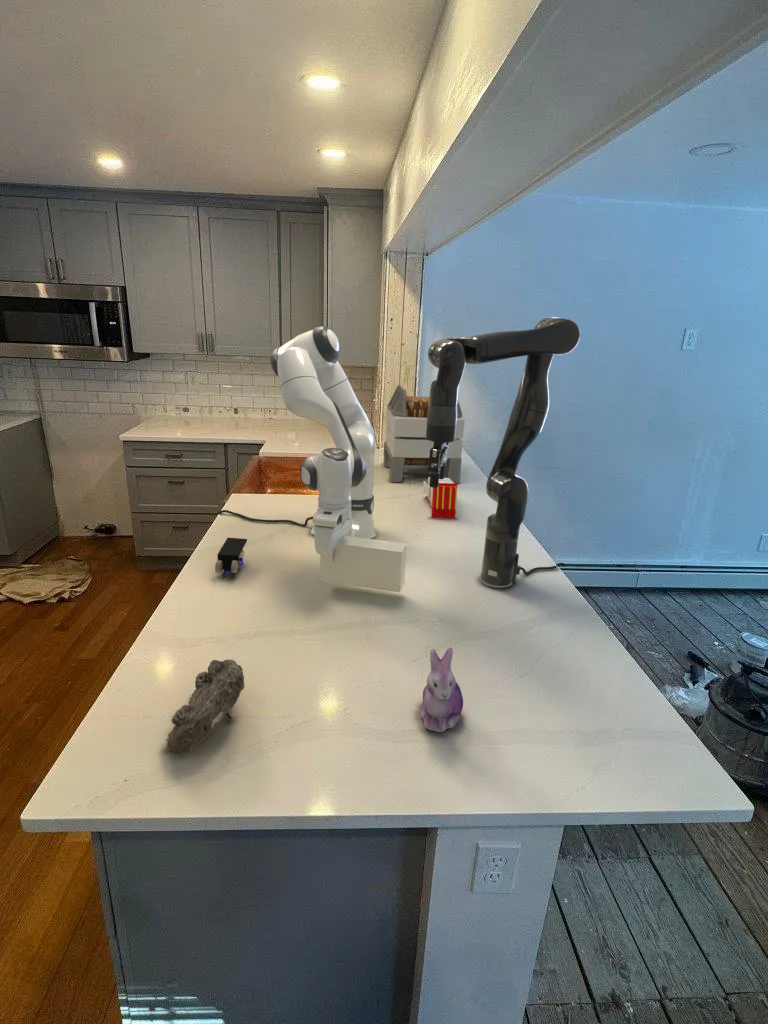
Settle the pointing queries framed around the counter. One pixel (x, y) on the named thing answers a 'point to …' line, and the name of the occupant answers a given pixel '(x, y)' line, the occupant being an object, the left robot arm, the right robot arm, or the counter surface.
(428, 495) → the toy
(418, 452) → the transformer
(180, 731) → the fossil
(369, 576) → the box
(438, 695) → the figurine
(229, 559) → the black toy rover
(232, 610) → the counter surface
